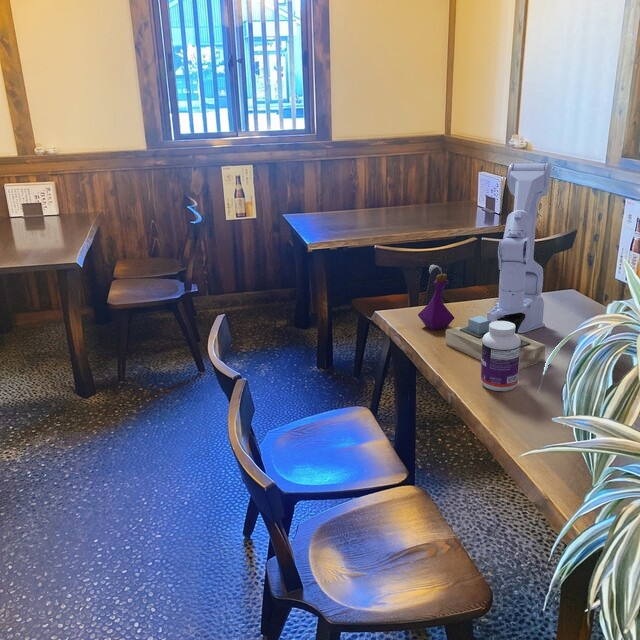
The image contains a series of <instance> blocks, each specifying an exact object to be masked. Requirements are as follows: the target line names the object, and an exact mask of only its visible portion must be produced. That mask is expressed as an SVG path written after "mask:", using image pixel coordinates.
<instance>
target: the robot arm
mask: <svg viewBox="0 0 640 640" xmlns="http://www.w3.org/2000/svg"><path fill="white" fill-rule="evenodd" d="M507 169H508V170H507V179H506V184H507V188H508V190H509V192H510V195H512V196H514V199H513V200H514V201H513V211H512V212H510V213H508V215H507V217H506V223H505V228H504V233H503V237H502V239H500V240H499V243H498V247H497V249H498V250H497V258H498V270H500V271H499V283H498V301H497V302H495V305H494V307H493V308H492V309H491V310H490V311H486V314H487V316H486V318H487V320H489V321H491V322H494V321H507V322H511V323H513V324H515V326H516V328H515V334H524V333H527V332H530V331H534V330H537V329H539V328H543V327H545V326H546V324H545V323H544V322H543V321H544V312H545V311H544V310H545V309H544V308H545V301H544V299H543V297H542V292H543V287H544V286H543V284H544V269H543V267H542V266H541V265H540V264H539V263H538V262H536V260H534V252H535V241H536V239H535V238H536V228H537V216H538V205H539V202H540V199H541V198H543V197H545V196H547V195H548V193H549V191H550V183H551V172H552V171H551V164H550V163H549V162H546V163H514V162H512V163H510V165H509V166H508V168H507Z"/></svg>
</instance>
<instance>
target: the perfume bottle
mask: <svg viewBox="0 0 640 640" xmlns="http://www.w3.org/2000/svg"><path fill="white" fill-rule="evenodd" d="M436 268H438V270H439V271H440V274H439V273H438V275H436V277H435V278H436V279H435V280H434V281H433V284H434V285H435V291H434V294H433V296H432V298H431V300H430V301H429V303H428V304H427V305H426V306H425V307H424V308H423V309H421V311H419V312H418V314H417V316H418V318H419V319H420V321H421V322H422V323H423V324H424V325H425V327H427V328H429V330H432V331H438V330H439V331H440V330H443V329H447V328H448V326H449V325H450V324H451V323H452V322H453V321H454V320H455V316H454V315H453V313H451V311H450V310H448V308H447V307H446V305H445V304H444V303H443V299H442V295H443V290H444V288H445V287H446V285H448V284H450V283H449V280H447V278H448V275H447V274H446V273H443V272H442V269H443V268H442V267H440V266H439V265H435V264H431V265H429V269H428V273H429V274H431V273H432V271H433V270H434V269H436Z"/></svg>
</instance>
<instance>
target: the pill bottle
mask: <svg viewBox="0 0 640 640" xmlns="http://www.w3.org/2000/svg"><path fill="white" fill-rule="evenodd" d="M515 328H516V326H515V324H513V323H511V322H507V321H497V320H496V321H494V322H492V321H491V323H490V324H489V332H488V333H486V334H485V335H484V336H483V339H482V361H481V365H480V366H481V367H480V368H481V369H480V382H481V384H482V385H483V386H484V388H486V389H488V390H490V391H494V392H496V391H497V392H507V391H508V392H509V391H511V390H513V389H515V388H516V387H517V386H518V384H519V370H520V369H519V358H520V344H521V341H520V338H519V336H518V335H519V334H518V333H517V334H518V335H517V334H515Z"/></svg>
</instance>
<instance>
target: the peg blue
mask: <svg viewBox="0 0 640 640" xmlns="http://www.w3.org/2000/svg"><path fill="white" fill-rule="evenodd" d="M491 322H492V321H489V320H487V317H485V316H482V315H478V316H473V317H471V318H468V323H467V324H468V330H469V331H472V332H474V333H476V334H479V335H480V334H483V333H486V332H489V324H490V323H491Z"/></svg>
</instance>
